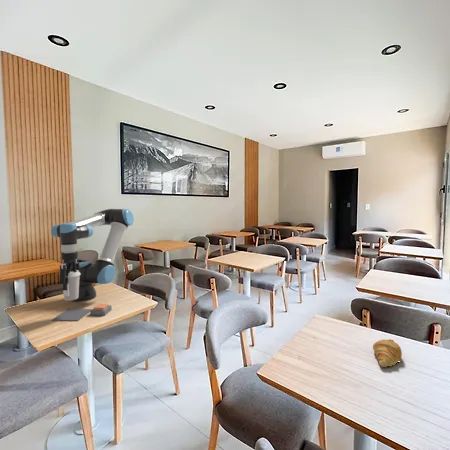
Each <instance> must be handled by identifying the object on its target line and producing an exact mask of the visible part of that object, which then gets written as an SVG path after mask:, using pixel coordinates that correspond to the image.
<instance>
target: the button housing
mask: <svg viewBox="0 0 450 450" xmlns="http://www.w3.org/2000/svg"><path fill="white" fill-rule="evenodd" d="M91 309H92V310H91V311H90V312H89V313H90V316H98V317H99V316H101V317H102V316H103V317H104V316H106V315H108V313H111V310H112V309H113V307H112V305H111V304H108V307H107V308H106V309H105V310H94V307H93V308H91Z"/></svg>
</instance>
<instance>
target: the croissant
mask: <svg viewBox="0 0 450 450" xmlns="http://www.w3.org/2000/svg"><path fill="white" fill-rule="evenodd" d="M372 349H373V352H374V355H375V354H376V355H375V356H376V360H377V359H378V360H377V361H378V364H379V365H381V366H380V367H382V368H388V367H387V366H390V367H393V366H396V365H397V364H398V363H397V362H398V361H402V349H401V346H400V345H399V344H398V343H397V342H395V341H394V339H380V340H378V341H375V342H374V343H373V345H372ZM396 363H397V364H396ZM395 364H396V365H395ZM392 365H393V366H392Z"/></svg>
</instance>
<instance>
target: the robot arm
mask: <svg viewBox="0 0 450 450" xmlns="http://www.w3.org/2000/svg"><path fill="white" fill-rule="evenodd" d="M133 224H134V214H133V212H132V210H131V209H129V208H128V209H127V208H126V209H125V208H108V209H104V210H100V211H98V212H94V214H92V215H89V216H86V217H83V218H80V219H76V220H73V221H71V222H64V223H60V224H54V225H52V227H51V229H50V231H51V232H50V233H51V235H52V237H54V238H58V239H60V249H61V250H60V251H61V260H62V261H63V264H60V265H59V285H62V284H63V285H62V290H63V292H62V293H63V297H64V296H69V284H68V274H69V273H70V271H74V272H76V270H78V271H79V272H80V274H81V275H80V277H79V296H78V299H75V300H71V302H75V303H76V302H85V301H90V300H92V299H95V298H96V297H97V291H96V288H95V286H94V284H99V285H106V284H109V283H111V282H112V281H113V280H114V279H115V278H116V274H117V273H116V270H117V269H116V267H115V263H114V260H115V257H116V255H117V252H118V249H119V246H120V243H121V240H122V238H123V235H124V233H125V231H127V230H128V227H130V226H132V225H133ZM97 226H98V227H102V226H110V229H109V232H108V235H107V238H106V240H105V242H104V245H103V248H102V249H101V250H102V251H101V254H100V256H99V258H97V259H95V262H94V264H93V262H92V261H90V260H87V261H86V260H85V261H81V262H80V259H78V240H79V239H80V240H81V239H88V238H90V237H92V236H93V234H94V227H97Z"/></svg>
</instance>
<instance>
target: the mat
mask: <svg viewBox="0 0 450 450" xmlns="http://www.w3.org/2000/svg"><path fill="white" fill-rule="evenodd" d="M92 309H93V308H67V309H66V310H65V311H63V312H61V313H60V314H58V315H56V316H55V317H54V318H52V319H51V321H53V322H79V321H80V320H81V319H83V317H85V316H86V315H88V314H89V313H91V312H90V311H91V310H92Z"/></svg>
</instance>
